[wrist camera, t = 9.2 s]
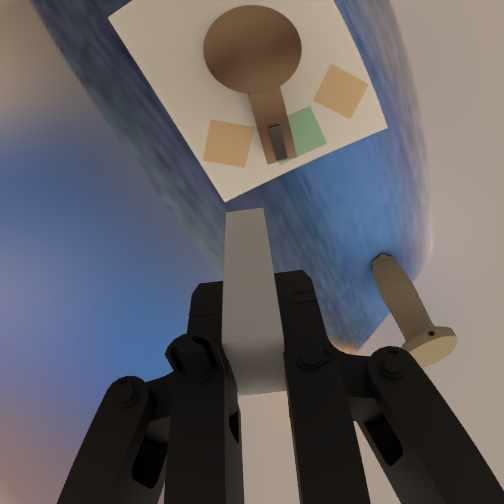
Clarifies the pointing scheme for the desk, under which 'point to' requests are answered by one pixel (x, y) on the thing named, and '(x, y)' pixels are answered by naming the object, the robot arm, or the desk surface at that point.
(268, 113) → the brown frying pan
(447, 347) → the handle
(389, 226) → the desk surface
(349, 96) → the board
